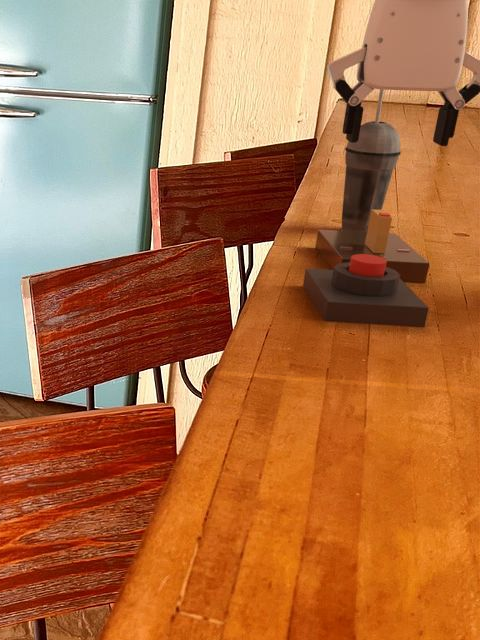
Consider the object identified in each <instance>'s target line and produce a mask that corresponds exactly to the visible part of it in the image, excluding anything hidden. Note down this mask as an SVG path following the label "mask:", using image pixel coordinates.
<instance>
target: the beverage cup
mask: <svg viewBox="0 0 480 640" xmlns="http://www.w3.org/2000/svg"><path fill="white" fill-rule="evenodd" d="M384 92H385V90H383V89H379V93H378V101H377V107H376V113H375V119H374V120H370V121H367V122H365V123H363V124H362V123H361V127H360V133H359V139H358V142H356V143H351V142H349V141H348V140H347V144H346V146H345V148H344V151H345V155H344V159H345V160H344V161H345V162H344V163H345V176H344V186H343V187H344V189H343V200H342V211H341V229H340V231H356V232H367V231H368V226H369V221H370V215H371V210H372V209H374V210H383V206H384V203H385V199H386V196H387V192H388V189H389V186H390V182H391V178H392V175H393V171H394V169H395V168H396V166H397V163H398V161H399V157H400V155H401V138H400V136H399V133H398V131H397V129H396V128H395V127H393V126H392V125H391V124H390V123H388V122H386V121H381V120H380V118H381V113H382V112H381V111H382V106H383V99H384Z"/></svg>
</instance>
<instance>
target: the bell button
mask: <svg viewBox="0 0 480 640" xmlns="http://www.w3.org/2000/svg"><path fill="white" fill-rule="evenodd" d="M386 263H387V260H386V259H384V258H382V257H379V256H374V255H367V254H357V255H353V256H351V260H350V266H349V271H348V272H351V273H354V274H357V275H362V276H370V277H381V276H384V273H385V268H386Z"/></svg>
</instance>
